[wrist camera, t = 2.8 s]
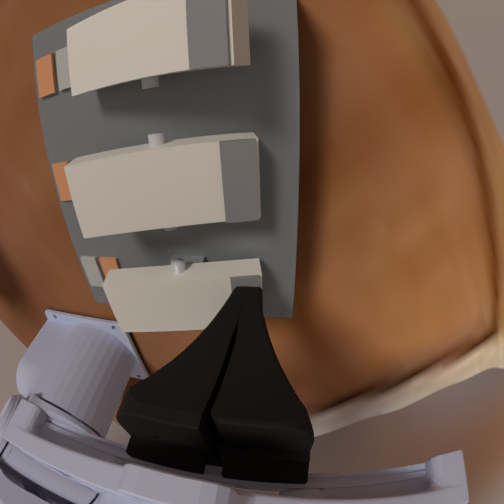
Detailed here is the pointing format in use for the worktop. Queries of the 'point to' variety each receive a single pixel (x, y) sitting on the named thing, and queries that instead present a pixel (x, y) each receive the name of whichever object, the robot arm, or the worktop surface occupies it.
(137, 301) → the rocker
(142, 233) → the switch box
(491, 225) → the worktop surface
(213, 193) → the middle rocker
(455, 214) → the worktop surface
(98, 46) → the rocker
